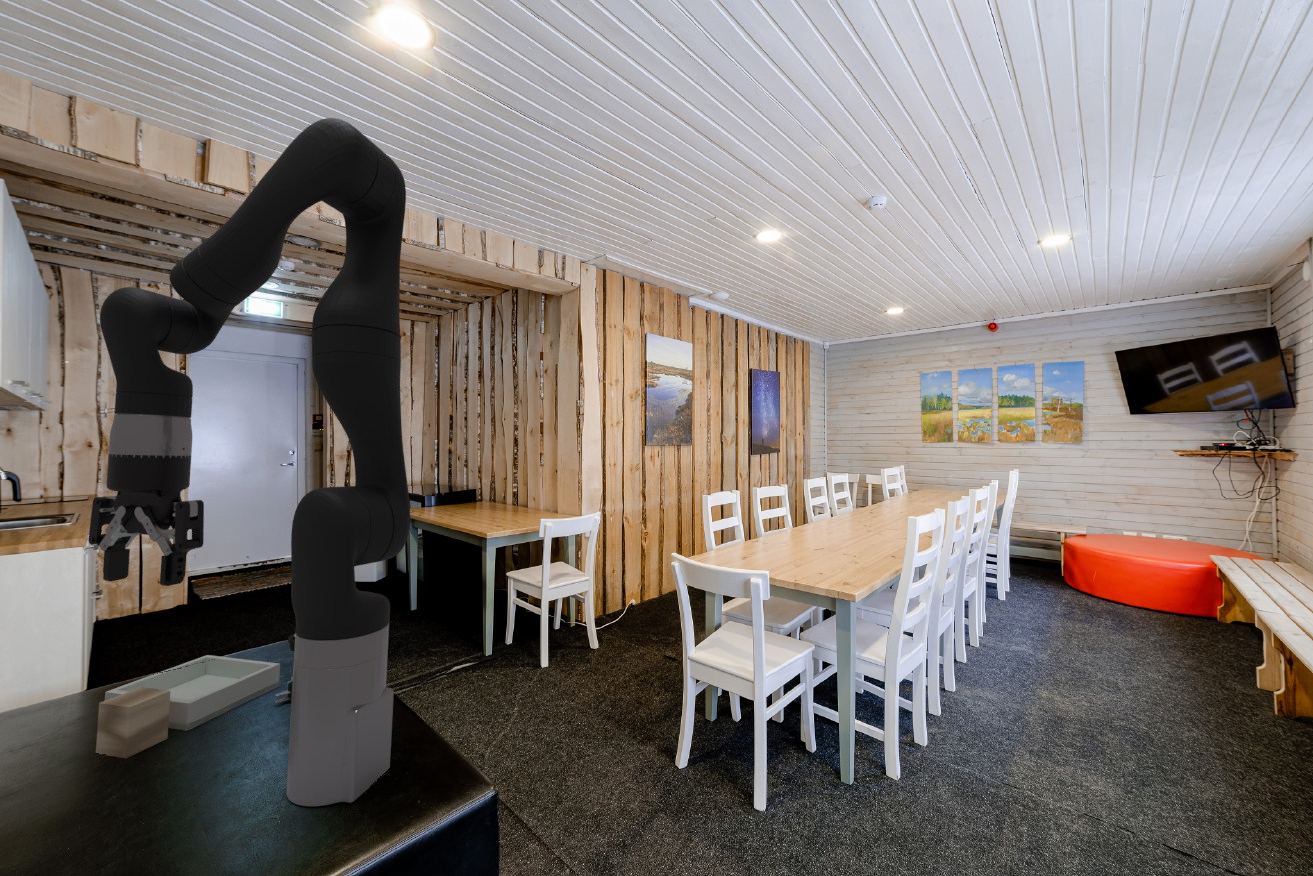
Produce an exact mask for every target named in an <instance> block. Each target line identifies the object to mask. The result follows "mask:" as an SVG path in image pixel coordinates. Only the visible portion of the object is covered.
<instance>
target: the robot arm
mask: <svg viewBox="0 0 1313 876" xmlns="http://www.w3.org/2000/svg"><path fill="white" fill-rule="evenodd" d="M406 190H407V189H406V182H405V178H404V175H403V172H402V170H401V169H400V167H399V166H398V165H397V164H396V163H395V161H394V160H393V159H392V158H391V157H390V156H389V155H387V153H385V152H384V151H383V150H382V149H381V148H379V147H378V146H377V145H376V144H375V143H373V141H372V140H371V139H370V138H368V137H367V136H366V135H365V134H364V133H362V132H361V131H360V130H359V129H358V128H356V127H355V126H353V125H352V124H351V123H349V122H348V121H345V120H343V119H340V118H336V117H327V118H321V119H319V120H316V121H314V122H313V123H311V124H309V125H308V126H307V127H306V128H304V129H303V130H302V131H301V132H300V133H299V134H298V135H297V136H296V137H295V138H294V139H293V140H292V141H291V142H290V143H289V145H288V146H287V147H286V148H285V149H284V151H283V152H282V153H281V154H280V156H279V157H278V158H277V159H276V161H275V162H274V163H273V164H272V166H271V167H270V168H269V169H268V170H267V172H266V173H265V174H264V175H263V176H262V178H261V179H260V180H259V181H258V182H257V184H256V185H255V186H254V188H253V189H252V190H251V192H249V194H248V195H247V197H246V198H245V199H244V201H243V202H242V204H241V205H239V207H238V208H237V210H236V211H235V212H234V213H233V214H232V215H230V217H229V219H228V220H227V221H226V222H225V223H223V225H222V226H221V227H220V228H218V229H217V230H216V231H215V232H214V233H212V234H211V235H210V236H209V237H208V238H207V239H205V240H204V241H203V242H201V243H200V244H199V245H198V246H196V247H195V248H194V249H193V250H192V251H191V252H189V253H187V254H186V255H185V256H184V257H183V258H182V259H181V260H180V261H179V262H176V264H175V265H174V266H173V267H172V269H171V270H170V273H169V277H168V278H169V282H170V285H171V287H172V289H173V290H174V291H175V292H176V293H177V294H178V296H179V297H181V298H182V299H179V298H175V297H172V296H170V295H169V296H168V295H164V294H161V293H157V292H155V291H151V290H147V289H143V288H140V287H133V286H125V287H120V288H119V289H115V290H114V291H112V292H111V293H110V294H108V296H107V297H106V298H105V300H104V301H103V302H102V305H101V307H100V312H99V323H100V329H101V332H102V337H103V339H104V343H105V346H106V350H107V353H108V356H109V359H110V363H111V366H112V369H113V373H114V377H115V381H116V386H115V400H114V415H113V420H112V423H111V424H112V425H111V428H110V433H109V445H108V455H107V456H108V459H107V473H106V488H107V490H109V491H112V492H116V495H115V496H114V495H108V496H107V495H106V496H97V497H94V498H93V500H92V508H91V515H90V523H89V524H90V525H89V533H88V538H87V539H88V544H89V545H97V546H98V547H99V549H100V550H101V551H103V553H104V554H103V555H104V556H103V565H102V566H103V568H102V578H103V581H106V582H114V581H119V580H124V579H127V577H128V576H129V567H130V554H131V549H130V548H128V547H129V546H130V545H131V544H132V542H133V541H134V539H135V538H136V537H137V536H140V535H146V536H147V535H148V537H149V539H150V540H151V541H152V542H155V543H157V545H158V547H159V549H160V551H161V552H162V554H163V555H161V557H160V558H161V559H160V560H161V561H160V573H159V574H160V577H159V584H160V586H162V587H169V586H175V585H178V584H182V583H183V581H184V579H185V576H186V569H187V555H188V553H189V552H190V551H191V550H195V549H199V548H200V549H201V548H202V547H203V546H204V537H205V536H204V532H205V531H204V528H205V527H204V526H205V525H204V524H205V523H204V519H205V517H204V516H205V515H204V514H205V504H204V503H205V502H204V501H203V500H202V499H196V500H184V501H183V500H182V497H181V492H182V491H183V490H186V489H188V488H189V487H190V483H191V481H190V480H191V467H192V465H191V464H192V451H193V428H192V414H193V413H192V411H193V409H192V408H193V395H194V394H193V392H194V391H193V390H194V388H193V387H194V386H193V381H192V378H190V377H189V376H188V375H187V374H185V373H183V372H181V371H178V370H175V369H173V368H171V367H169V366H167V365H166V364H165V363H164V362H163V359H162V357H161V354H160V352H165V353H170V354H171V353H172V354H176V355H190V354H191V355H192V354H195V353H198V352H200V351H203V350H204V349H206V348H208V347H209V346H210V345H211V344H212V343H214V340H216V337H217V336H218V334H219V333H220V331H221V330H222V328H223V326H224V325H225V323H226V322H227V321H228V319H229V317H230V316H231V313H232V312H233V310H234V308H236V306H237V307H238V306H239V305H240V304H241V303H242V302H243V301H245V300H246V299H247V298H248V297H250V296H251V295H252V294H254V293H255V292H256V291H257V290H259V289H260V288H261V287H263V286H264V285H265V284H266V283H267V282H268V281H269V280H270V279H271V277H272V276H273V275H274V273H275V272H276V270H277V268H278V265H279V263H280V260H281V256H282V251H283V249H284V248H283V247H284V243H285V239H286V236H287V233H288V230H289V229H290V227H291V225H292V224H293V222H294V221H295V220H296V219H297V218H298V217H299V216H300V215H301V214H303V213H304V212H305V211H306V210H308V209H309V208H311V207H312V206H314V205H316V204H318V203H319V202H322V203H325V204H326V205H328V206H330V207H331V208H333V210H336V211H337V212H339V213H341V215H342V216H343V218H344V219H343V220H344V225H345V254H344V260H343V264H342V266H341V269H340V271H339V272H338V274H337V275H336V277H335V278H334V279H333V281H332V282H331V283H330V285H329V286H328V288H327V289H326V291H325V292H324V293H323V295H322V297H321V298H320V300H319V301H318V303H317V305H316V307H315V309H314V311H313V317H312V321H311V322H312V324H311V329H312V330H311V354H312V355H311V364H312V366H311V367H312V368H311V369H312V372H313V376H314V378H315V381H316V384H317V386H318V388H319V390H320V392H321V394H322V396H323V398H324V400H325V401H326V403H327V404H328V406H329V407H330V409H331V411H332V412H333V414H334V416H335V417H336V419H337V420H338V421H339V423H340V425H341V427H342V428H343V431H344V432H345V434H346V436H347V439H348V441H349V444H350V447H351V450H352V455H353V456H352V457H353V463H354V475H355V476H354V478H355V479H354V480H355V485H351V486H350V485H349V486H328V487H320V488H315V489H313V490H310V491H308V492H307V493H305V495H304V496H303V497H302V498H301V500H300V501H299V503H298V504H297V505H296V506H297V507H296V509H295V511H294V514H293V515H294V516H293V519H292V523H291V534H290V536H291V537H290V538H291V539H290V547H291V548H290V550H291V552H290V553H291V556H290V557H291V580H290V581H291V584H290V585H291V586H290V587H291V588H290V591H291V592H290V594H291V595H290V596H291V597H290V598H291V604H292V608H293V613H294V617H295V633H294V634H295V650H294V651H293V652H294V653H293V654H294V655H293V670H292V676H293V683H292V700H291V702H290V704H291V705H290V719H289V721H290V723H289V736H288V737H289V739H288V755H287V756H288V757H287V758H288V759H287V760H288V761H287V775H286V776H287V777H286V791H285V792H286V798H287V800H289V801H290V802H291V803H293V804H295V805H298V806H303V807H322V806H329V805H333V804H337V803H353V802H355V801H356V800H357V799H358V798H360V797H361V796H362V794H364V793H366V791H367V790H369V788H371V787H372V786H373V785H374V784H375V783H376V782H377V779H378V778H380V776H382V775H383V774H384V773H385V772H386V771H387V770H388V769H389V768H390V767H391V752H392V751H391V750H392V749H391V747H392V734H393V733H392V731H393V711H394V709H393V708H394V689H393V688H391V687H387V676H388V673H387V672H388V671H387V670H388V650H389V637H390V636H389V634H390V633H389V632H390V631H389V630H390V618H391V617H390V616H391V604H390V600H389V598H387V596H385V595H383V594H381V593H378V592H377V593H376V592H371V591H365V590H364V591H363V590H359V589H358V588H357V585H356V577H355V576H356V574H355V567H357V566H363V565H370V564H372V563H380V562H383V561H387V560H389V559H392V558H394V557H396V556H398V555H399V554H400V552H401V551H402V550H403V549H404V547H405V546H406V543H407V540H408V538H409V534H410V526H411V503H410V496H409V488H408V487H409V485H408V479H407V470H406V463H405V454H404V443H403V432H402V431H403V428H402V408H401V407H402V406H401V405H402V404H401V403H402V401H401V370H402V369H401V368H402V367H401V366H402V363H401V362H402V357H401V356H402V354H401V353H402V352H401V351H402V350H401V349H402V348H401V347H402V344H401V338H402V337H401V322H400V321H401V320H400V319H401V318H400V300H401V299H400V294H401V293H400V292H401V291H400V289H401V286H400V285H401V278H400V276H401V273H400V272H401V271H400V270H401V268H400V267H401V255H402V253H401V252H402V245H403V244H402V243H403V236H404V233H403V232H404V224H405V216H406V215H405V213H406V202H407V191H406ZM104 525H107V526H106V528H105V530H104V532H105V533H102V531H103V530H102V529H103V527H104ZM189 530H191V538H190V539H188V531H189ZM171 540H173V541H174V543H172V541H171ZM390 769H391V768H390ZM384 775H385V774H384ZM384 775H383V776H384ZM383 776H382V777H383ZM380 779H381V778H380ZM375 781H376V782H375ZM374 782H375V783H374ZM373 783H374V784H373ZM372 784H373V785H372ZM371 785H372V786H371ZM370 786H371V787H370Z"/></svg>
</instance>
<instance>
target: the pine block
mask: <svg viewBox="0 0 1313 876" xmlns="http://www.w3.org/2000/svg"><path fill="white" fill-rule="evenodd" d="M169 707H170V691H168V690H160V689H153V688H146V687H140V688H138V689H135V690H132V691H130V692H127V693H124V694H122V695H119V696H116V697H114V698H111V699H108V700H106V701H105V700H103V701H100V702H99V703H98V714H97V717H98V718H97V733H96V745H95V754H96V753H99V754H98V755H102V754H106V755H105V756H110V757H114V756H115V757H116V758H121V759H127V758H128V759H129V758H130V757H132V756H134V755H136V754H138V753H140V752H142V751H145V750H147V749H148V748H151V747H153V746H155V745H157V744H159V743H161V742H163V741H165V740H167V739H168V738H169V737H168V734H169V728H168V722H169Z"/></svg>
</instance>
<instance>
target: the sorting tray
mask: <svg viewBox="0 0 1313 876" xmlns="http://www.w3.org/2000/svg"><path fill="white" fill-rule="evenodd" d="M212 659H215V660H212ZM208 660H210V661H208ZM202 661H206V662H204V663H199V662H202ZM194 663H198V664H194ZM192 664H194V665H192ZM186 665H190V666H188V667H185V666H186ZM180 667H182V668H181V669H177V668H180ZM173 669H176V670H173ZM280 669H281V663H277V662H269V661H261V660H253V659H245V658H235V657H228V656H218V655H209V654H207V655H204V656H201V657H198V658H195V659H192V660H189V661H187V662H184V663H181V664H179V665H176V666H174V667H173V666H172V667H170V668H167V669H164V670H162V671H161V672H163V673H159V672H156V673H154V675H153V674H151V675H148V676H146V677H143V678H139V679H137V680H135V681H132V682H129V683H127V684H126V683H125V684H124V685H121V686H118V687H116V688H112V689H110V690H107V691H105V692H104V693H105V694H104V701H106V700H108V699H111V698H114V697H116V696H119V695H122V694H124V693H127V692H130V691H132V690H135V689H138V688H140V687H146V688H153V689H160V690H168V691H170V707H169V722H168V729H173V730H179V731H186V732H187V731H190V730H192V729H194V728H196V727H198V726H200V725H203V724H205V723H206V722H209V721H211V720H212V719H214V718H217V717H219V716H221V715H223V714H225V713H227V712H229V711H231V710H233V709H235V708H237V707H239V706H242V705H243V704H246V703H247V702H250V701H252V700H255V699H256V698H259V697H260V696H262V695H264V694H266V693H268V692H270V691H272V690H274V689H276V688H279V687H280V673H281V670H280ZM168 670H171V671H168ZM164 671H168V672H164ZM157 673H158V674H157Z"/></svg>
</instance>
